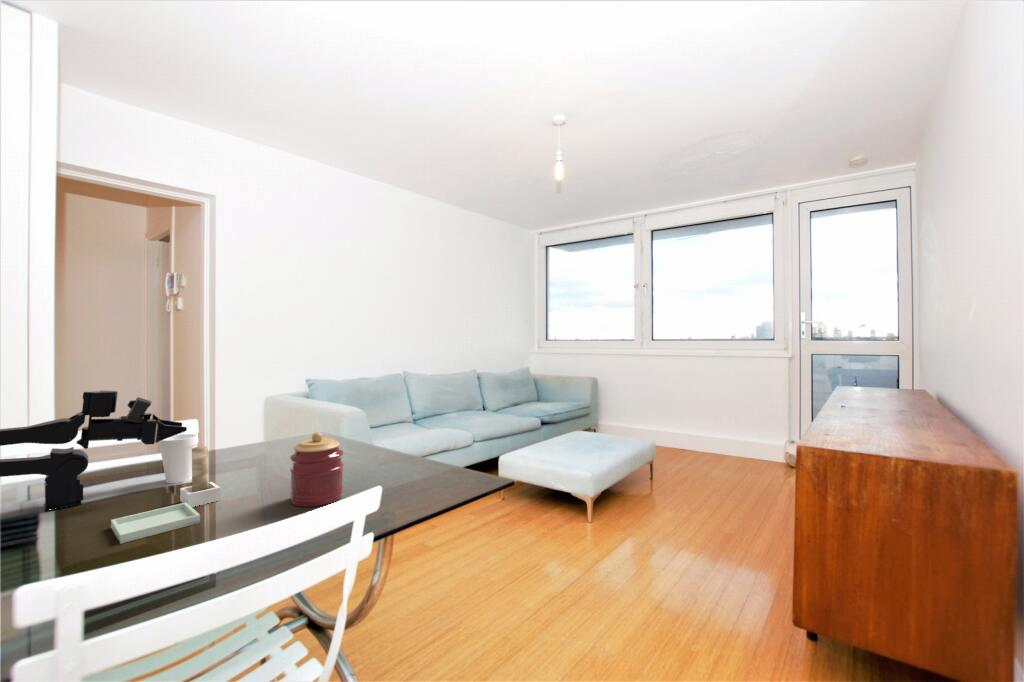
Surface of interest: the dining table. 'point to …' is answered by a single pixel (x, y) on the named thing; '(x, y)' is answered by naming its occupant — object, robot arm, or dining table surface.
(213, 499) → the collar
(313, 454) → the canister
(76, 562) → the dining table surface
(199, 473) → the dowel
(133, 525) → the tray
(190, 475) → the foam cup
